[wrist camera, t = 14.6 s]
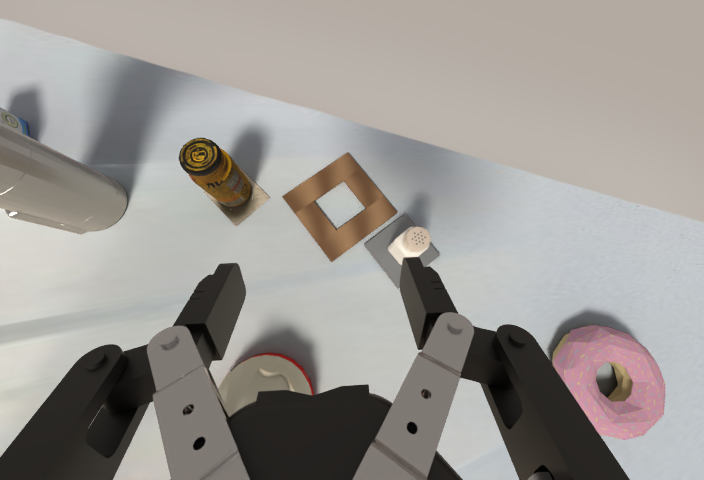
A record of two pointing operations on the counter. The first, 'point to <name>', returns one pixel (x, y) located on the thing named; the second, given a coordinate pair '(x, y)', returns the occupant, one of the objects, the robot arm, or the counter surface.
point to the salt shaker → (410, 243)
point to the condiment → (221, 179)
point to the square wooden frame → (354, 229)
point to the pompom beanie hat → (262, 379)
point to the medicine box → (13, 122)
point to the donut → (631, 372)
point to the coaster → (385, 258)
